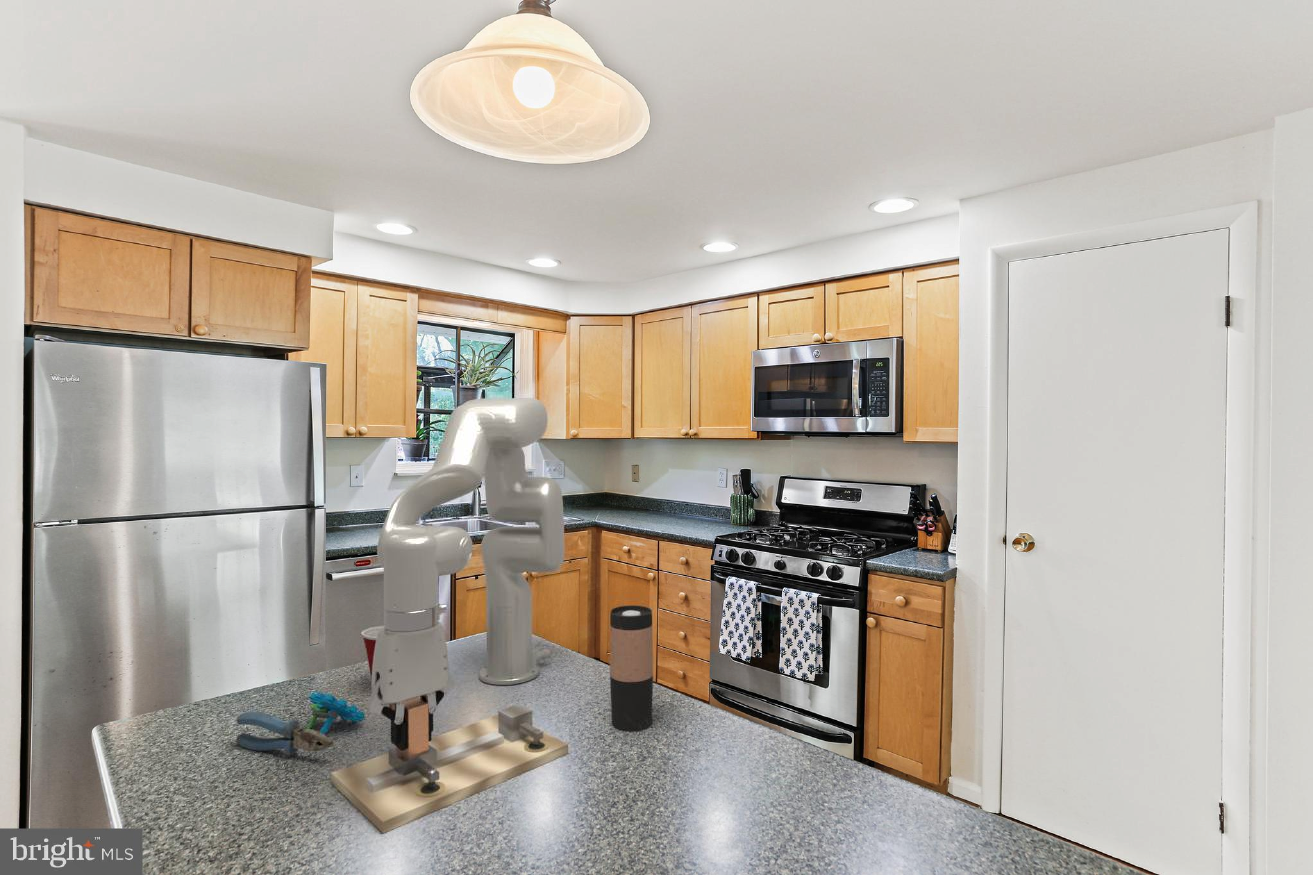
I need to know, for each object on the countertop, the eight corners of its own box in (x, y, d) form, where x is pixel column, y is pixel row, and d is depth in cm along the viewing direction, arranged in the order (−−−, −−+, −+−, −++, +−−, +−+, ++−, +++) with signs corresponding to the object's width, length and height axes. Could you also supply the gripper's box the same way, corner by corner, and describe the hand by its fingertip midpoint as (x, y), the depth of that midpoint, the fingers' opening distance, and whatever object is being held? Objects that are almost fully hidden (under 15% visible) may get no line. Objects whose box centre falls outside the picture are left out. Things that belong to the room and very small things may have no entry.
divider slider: (421, 758, 102) (420, 693, 102) (451, 780, 95) (451, 711, 95) (388, 769, 98) (388, 702, 98) (418, 794, 92) (417, 722, 91)
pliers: (336, 761, 105) (335, 724, 105) (324, 768, 103) (324, 730, 103) (245, 741, 112) (245, 706, 112) (233, 747, 110) (233, 711, 110)
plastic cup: (427, 688, 135) (427, 629, 135) (373, 703, 128) (373, 641, 128) (405, 674, 143) (405, 619, 143) (353, 688, 136) (352, 629, 136)
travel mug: (601, 722, 119) (601, 610, 119) (634, 710, 124) (634, 602, 124) (628, 736, 113) (628, 618, 113) (662, 723, 118) (661, 610, 118)
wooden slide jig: (506, 720, 120) (506, 689, 120) (568, 753, 107) (567, 719, 107) (331, 782, 99) (331, 745, 99) (382, 833, 86) (382, 790, 86)
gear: (378, 716, 118) (338, 689, 112) (359, 750, 114) (317, 724, 108) (339, 712, 123) (299, 686, 118) (320, 744, 120) (278, 719, 114)
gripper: (450, 603, 107) (451, 718, 107) (344, 624, 95) (345, 753, 95) (474, 612, 101) (475, 733, 101) (365, 636, 90) (366, 772, 90)
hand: (412, 741), depth 98 cm, fingers closed on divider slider, 3 cm apart
